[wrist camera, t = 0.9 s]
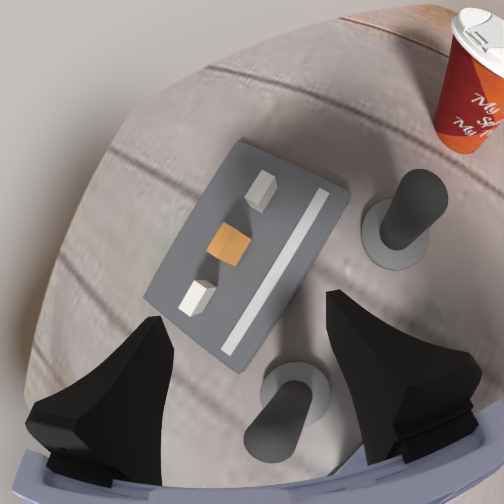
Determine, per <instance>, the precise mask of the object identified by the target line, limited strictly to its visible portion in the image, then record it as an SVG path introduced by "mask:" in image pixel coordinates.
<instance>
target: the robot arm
mask: <svg viewBox="0 0 504 504" xmlns="http://www.w3.org/2000/svg"><path fill="white" fill-rule="evenodd" d="M326 329H327V333H328V336H329V340H330V343H331V347H332V350H333V352H334V354H335V357H336V359H337V361H338V364H339V366H340V368H341V371H342V373H343V375H344V378H345V380H346V382H347V385H348V387H349V390H350V393H351V396H352V399H353V403H354V406H355V410H356V414H357V418H358V422H359V426H360V430H361V435H362V439H363V444H362V445H361V446H360V448H359V449H358V450H357V451H356V452H355V453H354V454H353V455H352V456H351V457H350V458H349V459H348V460H347V461H346V462H345V464H344V465H343V466H342V467H341V468H340V469H339V470H338V471H337V472H336V473H335V474H334V475H331V476H326V477H321V478H316V479H311V480H305V481H299V482H293V483H286V484H278V485H269V486H259V487H245V488H217V489H207V488H179V487H165V486H162V477H161V430H162V417H163V411H164V405H165V401H166V396H167V392H168V387H169V383H170V379H171V374H172V369H173V360H174V348H173V345H172V343H171V341H170V338H169V336H168V333H167V331H166V328H165V326H164V323H163V321H162V318H161V316H152V317H148V318H146V319H145V320H144V321H143V322H142V323H141V324H140V325H139V326H138V328H137V329H136V330H135V331H134V332H133V333H132V334H131V335H130V336H129V337H128V338H127V339H126V340H125V341H124V342H123V343H122V344H121V345H120V346H119V347H118V348H117V349H116V350H115V351H114V352H113V353H112V354H111V355H110V356H109V357H108V358H107V359H106V360H105V361H104V362H102V363H101V364H100V365H99V366H98V367H96V368H95V369H94V370H93V371H91V372H90V373H89V374H87V375H86V376H84V377H83V378H81V379H80V380H78V381H77V382H75V383H74V384H72V385H71V386H69V387H67V388H65V389H63V390H62V391H60V392H58V393H56V394H54V395H51V396H49V397H47V398H44V399H42V400H40V401H37V402H35V403H34V405H33V407H32V409H31V412H30V414H29V416H28V418H27V420H26V422H25V425H26V428H27V430H28V431H29V433H30V434H31V435H32V436H33V437H34V438H35V439H36V440H37V441H38V442H39V443H40V444H42V445H43V446H44V447H45V448H46V449H47V450H48V451H49V452H51V454H50V457H49V458H48V457H46V456H45V455H42V454H40V453H37V452H34V451H31V450H28V449H26V451H25V454H24V456H23V459H22V461H21V464H20V466H19V469H18V472H17V475H16V477H15V480H14V483H13V486H12V489H11V490H12V492H13V493H15V494H17V495H18V496H19V497H21V498H23V499H24V500H26V501H27V502H29V503H31V504H444V503H446V502H448V501H450V500H452V499H453V498H455V497H457V496H459V495H460V494H462V493H464V492H466V491H467V490H469V489H471V488H472V487H474V486H475V485H477V484H478V483H480V482H482V481H483V480H485V479H486V478H488V477H489V476H491V475H492V474H494V473H495V472H496V471H498V470H499V469H500V468H501V467H502V466H503V465H504V403H503V401H502V400H501V399H498V400H496V401H495V402H493V403H492V404H490V405H488V406H487V407H485V408H483V409H482V410H480V411H479V412H478V413H476V414H475V415H473V413H472V411H471V410H472V408H473V404H472V402H471V401H470V398H471V396H472V395H473V393H474V391H475V390H476V388H477V386H478V384H479V382H480V380H481V376H482V370H481V368H480V367H479V365H478V364H477V363H476V361H475V360H474V359H473V357H472V356H471V355H470V354H469V353H468V352H463V351H458V350H453V349H448V348H444V347H440V346H437V345H433V344H430V343H427V342H424V341H422V340H419V339H417V338H414V337H412V336H410V335H407V334H405V333H403V332H401V331H399V330H397V329H395V328H393V327H392V326H390V325H388V324H386V323H385V322H383V321H382V320H380V319H378V318H377V317H375V316H374V315H372V314H371V313H370V312H368V311H367V310H365V309H364V308H363V307H361V306H360V305H359V304H357V303H356V302H355V301H354V300H352V299H351V298H350V297H349V296H347V295H346V294H345V293H344V292H342V291H341V290H340V289H339V290H334V291H329V292H326Z"/></svg>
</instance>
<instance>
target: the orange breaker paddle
mask: <svg viewBox="0 0 504 504" xmlns="http://www.w3.org/2000/svg"><path fill="white" fill-rule="evenodd" d="M250 242H251V239H250V238H248V237H247V236H245V235H244V234H242V233H241V232H239V231H238V230H236V229H235V228H233V227H232V226H230V225H228V224H226V223H225V222H223V223H222V225H221V227H220V228H219V230H218V232H217V233H216V235H215V237H214V238H213V240H212V242H211V243H210V245H209V247H208V248H207V250H206V251H207V252H209V253H210V254H212V255H213V256H214V257H216V258H218V259H220V260H222V261H225V262H227V263H229V264H231V265H234V266H236V265H237V263H238V261H239V260H240V258H241V256H242V255H243V253H244V252H245V250H246V248H247V247H248V245H249V243H250Z"/></svg>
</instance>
